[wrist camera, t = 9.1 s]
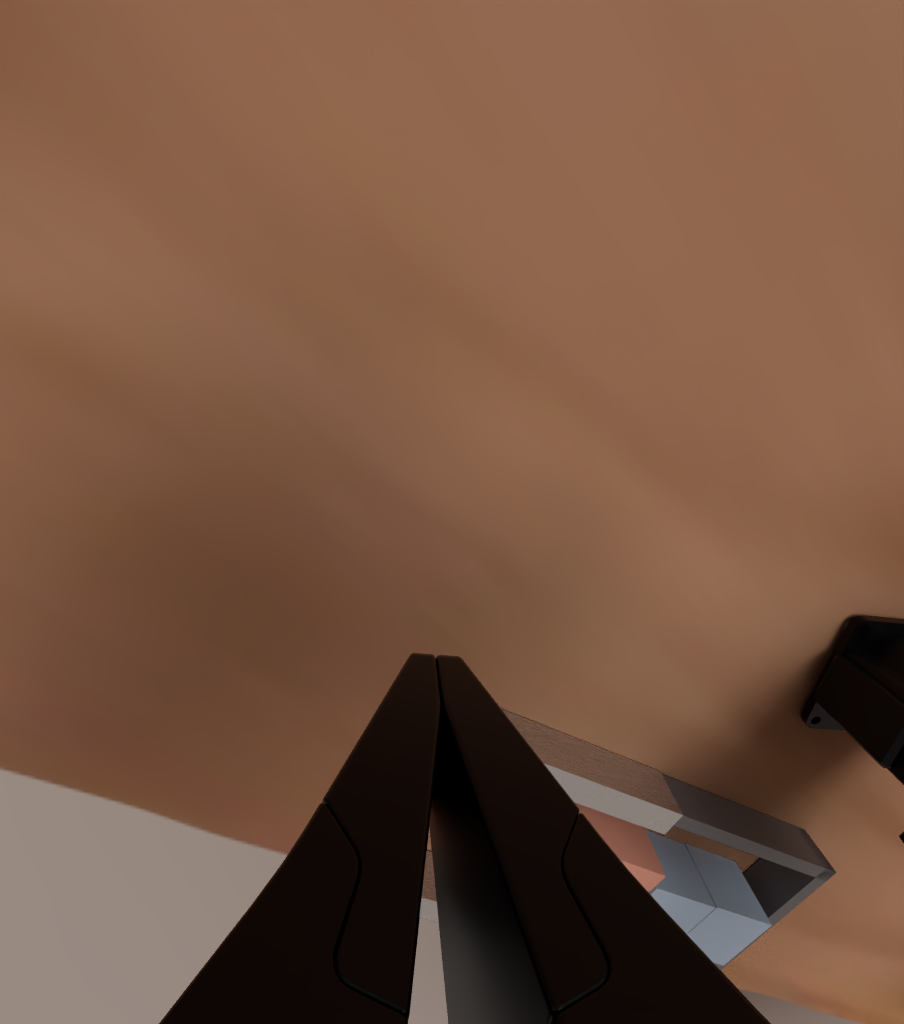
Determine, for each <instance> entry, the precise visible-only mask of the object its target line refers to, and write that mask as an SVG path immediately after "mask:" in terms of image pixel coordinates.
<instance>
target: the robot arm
mask: <svg viewBox="0 0 904 1024" xmlns="http://www.w3.org/2000/svg"><path fill="white" fill-rule="evenodd" d="M801 720H802V721H803V722H804V723H805V724H806V725H807V726H808V727H810V728H820V729H836V730H845V731H846V732H847V733H848V734H849V735H850V736H851V737H852V738H853V739H854V740H855V741H856V742H857V743H858V744H859V745H860V746H861V747H862V748H863V749H864V750H865V751H866V752H867V753H868V754H869V755H870V756H871V757H872V758H873V759H874V760H875V761H876V762H877V763H878V764H879V765H880V766H882V767H883V768H887V769H888V770H889V771H890V772H891V773H892V774H893V775H894V776H895V777H896V778H897V779H898V780H899V781H900V782H901V783H902V784H903V785H904V619H894V618H883V617H872V616H857V617H854V618H853V619H851V620H850V621H849V623H848V624H847V626H846V628H845V630H844V632H843V634H842V636H841V638H840V640H839V642H838V644H837V646H836V648H835V650H834V652H833V654H832V655H831V657H830V659H829V661H828V663H827V665H826V667H825V669H824V671H823V673H822V675H821V677H820V679H819V681H818V683H817V685H816V687H815V688H814V690H813V692H812V694H811V696H810V698H809V700H808V702H807V704H806V706H805V708H804V710H803V712H802V714H801ZM429 827H430V837H431V847H432V858H433V868H434V878H435V889H436V899H437V909H438V920H439V930H440V939H441V950H442V961H443V971H444V982H445V992H446V1003H447V1013H448V1023H449V1024H771V1023H770V1022H769V1021H768V1020H767V1019H766V1018H765V1017H764V1016H763V1015H762V1014H761V1013H760V1012H759V1011H758V1010H757V1009H756V1008H755V1007H754V1006H753V1005H752V1004H751V1003H750V1002H749V1000H747V998H746V997H745V996H744V995H743V994H742V993H741V992H740V991H739V990H738V989H737V988H736V986H735V985H734V984H733V983H732V982H731V981H730V980H729V979H728V978H727V977H726V976H725V975H724V974H723V973H722V971H721V970H720V969H719V968H718V967H717V966H716V965H715V964H714V963H713V962H712V961H711V960H710V959H709V957H708V956H707V955H706V954H705V953H704V952H703V951H702V950H701V949H700V948H699V947H698V946H697V945H696V944H695V942H694V941H693V940H692V939H691V938H690V937H689V936H688V935H687V934H686V933H685V932H684V931H683V930H682V928H681V927H680V926H679V925H678V924H677V923H676V922H675V921H674V920H673V919H672V918H671V917H670V916H669V915H668V913H667V912H666V911H665V910H664V909H663V908H662V907H661V906H660V905H659V904H658V902H657V901H656V900H655V899H654V898H653V897H652V896H651V895H650V893H649V892H648V891H647V890H646V889H645V888H644V887H643V886H642V885H641V883H640V882H639V881H638V880H637V879H636V878H635V877H634V876H633V874H632V873H631V872H630V871H629V870H628V869H627V868H626V866H625V865H624V864H623V863H622V861H621V860H620V859H619V858H618V857H617V855H616V854H615V853H614V852H613V850H612V849H611V848H610V847H609V846H608V844H607V843H606V842H605V841H604V840H603V838H602V837H601V836H600V835H599V833H598V832H597V831H596V829H595V828H594V827H593V826H592V824H591V823H590V822H589V821H588V819H587V818H586V817H585V815H584V814H583V813H579V808H578V807H577V805H576V804H575V803H574V802H573V800H572V799H571V798H570V797H569V795H568V794H567V793H566V791H565V790H564V789H563V788H562V786H561V785H560V784H559V782H558V781H557V780H556V779H555V777H554V776H553V775H552V773H551V772H550V771H549V770H548V768H547V767H546V766H545V764H544V763H543V762H542V761H541V759H540V758H539V757H538V756H537V754H536V753H535V752H534V750H533V749H532V748H531V747H530V745H529V744H528V743H527V741H526V740H525V739H524V738H523V736H522V735H521V734H520V732H519V731H518V730H517V729H516V727H515V726H514V725H513V723H512V722H511V721H510V720H509V718H508V717H507V716H506V714H505V713H504V712H503V711H502V709H501V708H500V707H499V706H498V704H497V703H496V702H495V700H494V699H493V698H492V697H491V695H490V694H489V693H488V691H487V690H486V689H485V688H484V686H483V685H482V684H481V682H480V681H479V680H478V679H477V677H476V676H475V675H474V673H473V672H472V671H471V670H470V668H469V667H468V666H467V665H466V663H465V662H464V661H463V659H462V658H460V657H458V656H447V655H438V656H437V657H436V658H435V656H434V655H432V654H420V653H413V654H411V655H410V656H409V658H408V659H407V661H406V663H405V664H404V666H403V667H402V669H401V671H400V672H399V674H398V676H397V677H396V679H395V681H394V682H393V684H392V686H391V687H390V689H389V691H388V692H387V694H386V696H385V697H384V699H383V701H382V702H381V704H380V706H379V707H378V709H377V711H376V712H375V714H374V716H373V717H372V719H371V721H370V722H369V724H368V726H367V727H366V729H365V730H364V732H363V734H362V735H361V737H360V739H359V740H358V742H357V744H356V745H355V747H354V749H353V750H352V752H351V754H350V755H349V757H348V759H347V760H346V762H345V764H344V765H343V767H342V769H341V770H340V772H339V774H338V775H337V777H336V779H335V780H334V782H333V784H332V785H331V787H330V788H329V790H328V792H327V793H326V795H325V797H324V798H323V802H322V803H321V804H320V805H319V806H318V808H317V809H316V811H315V813H314V814H313V816H312V818H311V819H310V821H309V823H308V824H307V826H306V828H305V829H304V831H303V832H302V834H301V835H300V837H299V838H298V840H297V841H296V843H295V845H294V846H293V848H292V849H291V851H290V852H289V854H288V855H287V857H286V859H285V860H284V861H283V863H282V864H281V866H280V867H279V868H278V870H277V871H276V873H275V874H274V875H273V877H272V878H271V879H270V881H269V882H268V883H267V885H266V886H265V887H264V889H263V890H262V892H261V893H260V894H259V896H258V897H257V898H256V900H255V901H254V902H253V904H252V905H251V907H250V908H249V909H248V910H247V912H246V913H245V915H243V917H242V918H241V919H240V921H239V922H238V923H237V924H236V926H235V927H234V928H233V930H232V931H231V932H230V933H229V935H228V936H227V937H226V938H225V940H224V941H223V942H222V944H221V945H220V946H219V948H218V949H217V950H216V951H215V953H214V954H213V955H212V956H211V958H210V959H209V960H208V962H207V963H206V964H205V965H204V967H203V968H202V969H201V971H200V972H199V973H198V974H197V976H196V977H195V978H194V980H193V981H192V982H191V983H190V985H189V986H188V987H187V989H186V990H185V991H184V992H183V994H182V995H181V996H180V998H179V999H178V1000H177V1001H176V1003H175V1004H174V1005H173V1007H172V1008H171V1009H170V1011H169V1012H168V1013H167V1014H166V1016H165V1017H164V1018H163V1019H162V1021H161V1022H160V1023H159V1024H408V1018H409V1013H410V1003H411V994H412V984H413V975H414V965H415V956H416V947H417V937H418V927H419V918H420V909H421V899H422V890H423V880H424V871H425V861H426V852H427V842H428V833H429ZM899 837H900V838H901V840H902V841H903V843H904V832H903V833H902V834H901V835H899Z"/></svg>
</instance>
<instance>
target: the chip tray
mask: <svg viewBox="0 0 904 1024" xmlns="http://www.w3.org/2000/svg"><path fill="white" fill-rule="evenodd" d="M662 775H663V777H664V779H665V781H666V783H667V785H668V787H669V789H670V791H671V793H672V795H673V796H674V798H675V800H676V802H677V804H678V806H679V808H680V810H681V812H682V814H683V816H682V817H681V818H680V819H679V820H678V821H677V822H676V823H675V824H674V825H673V826H675V827H678V828H680V829H683V830H686V831H689V832H691V833H694V834H697V835H700V836H702V837H705V838H708V839H711V840H713V841H716V842H719V843H722V844H724V845H727V846H730V847H733V848H735V849H738V850H741V851H744V852H746V853H749V854H752V855H755V856H758V857H760V859H759V860H758V861H757V862H756V863H754V864H753V865H752V866H751V867H750V868H749V869H748V870H747V871H746V872H745V873H744V874H743V876H744V877H745V879H746V881H747V883H748V884H749V886H750V888H751V890H752V891H753V893H754V895H755V896H756V898H757V900H758V902H759V903H760V905H761V907H762V909H763V910H764V912H765V914H766V916H767V917H768V919H769V921H770V923H771V924H772V926H773V925H775V924H776V923H777V922H778V921H779V920H781V919H782V918H783V917H784V916H785V915H786V914H788V913H789V912H790V911H791V910H792V909H794V908H795V907H796V906H797V905H798V904H800V903H801V902H802V901H803V900H804V899H805V898H807V897H808V896H809V895H810V894H811V893H813V892H814V891H815V890H816V889H817V888H819V887H820V886H821V885H822V884H823V883H825V882H826V881H827V880H828V879H829V878H830V877H832V876H833V875H834V874H835V873H836V871H835V870H834V869H833V867H832V866H831V865H830V863H829V862H828V861H827V859H826V858H825V857H824V855H823V854H822V852H821V851H820V850H819V848H818V847H817V846H816V844H815V843H814V842H813V840H812V839H811V838H810V836H809V835H808V834H807V832H806V831H805V830H803V829H801V828H798V827H796V826H793V825H791V824H788V823H786V822H783V821H781V820H778V819H775V818H773V817H770V816H768V815H765V814H763V813H760V812H758V811H755V810H753V809H750V808H747V807H745V806H742V805H740V804H737V803H735V802H732V801H730V800H727V799H725V798H722V797H719V796H717V795H714V794H712V793H709V792H707V791H704V790H702V789H699V788H697V787H694V786H692V785H689V784H686V783H684V782H681V781H679V780H676V779H674V778H671V777H669V776H666V775H664V774H662ZM772 926H771V927H772ZM771 927H770V928H771ZM770 928H768V929H767V930H769V929H770ZM767 930H766V931H767ZM766 931H765V932H766ZM765 932H764V933H765ZM764 933H762V934H761V935H760V936H762V935H763V934H764ZM760 936H759V937H760ZM759 937H758V938H759ZM758 938H756V939H755V940H754V941H756V940H757V939H758ZM754 941H753V942H754ZM753 942H751V943H750V944H749V945H748V946H750V945H751V944H752V943H753ZM748 946H747V947H748ZM747 947H745V948H744V949H743V950H742V951H741V952H743V951H744V950H745V949H746V948H747ZM741 952H739V953H738V954H737V955H736V956H735V957H737V956H738V955H739V954H740V953H741ZM735 957H733V958H732V959H731V960H730V961H729V962H731V961H732V960H733V959H734V958H735ZM729 962H727V963H726V964H725V965H724V966H723V965H719V964H716V963H714V964H715V965H716V966H717V967H718V968H719V969H720V970H721V969H722V968H724V967H725V966H726V965H727V964H728V963H729Z"/></svg>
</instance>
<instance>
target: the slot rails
mask: <svg viewBox="0 0 904 1024" xmlns="http://www.w3.org/2000/svg"><path fill="white" fill-rule="evenodd" d="M502 711H503V712H504V713H505V714H506V716H507V717H508V718H509V720H510V721H511V722H512V723H513V725H514V726H515V727H516V729H517V730H518V731H519V732H520V734H521V735H522V736H523V738H524V739H525V740H526V741H527V743H528V744H529V745H530V747H531V748H532V749H533V750H534V752H535V753H536V754H537V756H538V757H539V758H540V759H541V761H542V762H543V763H544V764H545V766H546V767H547V768H548V770H549V771H550V772H551V773H552V775H553V776H554V777H555V779H556V780H557V781H558V782H559V784H560V785H561V786H562V788H563V789H564V790H565V791H566V793H567V794H568V795H569V797H570V798H571V799H572V800H573V802H575V803H577V804H580V805H583V806H586V807H589V808H591V809H594V810H597V811H600V812H603V813H605V814H608V815H611V816H614V817H617V818H619V819H622V820H625V821H628V822H631V823H633V824H636V825H639V826H642V827H645V828H648V829H650V830H653V831H656V832H659V833H662V834H664V835H665V834H666V833H667V831H668V830H669V829H670V828H671V827H672V826H673V825H674V824H675V823H676V822H677V821H678V820H679V819H680V818H681V817H682V816H683V814H682V812H681V810H680V808H679V806H678V804H677V802H676V800H675V798H674V796H673V795H672V793H671V791H670V789H669V787H668V785H667V783H666V781H665V779H664V777H663V775H662V774H661V772H660V771H658V770H655V769H653V768H650V767H648V766H645V765H643V764H640V763H638V762H635V761H632V760H630V759H627V758H625V757H622V756H620V755H617V754H615V753H612V752H610V751H607V750H605V749H602V748H599V747H597V746H594V745H592V744H589V743H587V742H584V741H582V740H579V739H577V738H574V737H572V736H569V735H566V734H564V733H561V732H559V731H556V730H554V729H551V728H549V727H546V726H544V725H541V724H539V723H536V722H534V721H531V720H528V719H526V718H523V717H521V716H518V715H516V714H513V713H511V712H508V711H506V710H503V709H502ZM420 918H423V919H426V920H430V921H434V922H438V923H439V920H438V909H437V899H436V889H435V878H434V868H433V858H432V852H430V851H427V852H426V861H425V871H424V880H423V890H422V899H421V909H420Z"/></svg>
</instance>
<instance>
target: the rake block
mask: <svg viewBox="0 0 904 1024" xmlns="http://www.w3.org/2000/svg"><path fill="white" fill-rule="evenodd" d="M574 803H575V802H574ZM575 804H576V805H577V807H578V808H579V813H583V814H584V815H585V817H586V818H587V819H588V821H589V822H590V823H591V824H592V826H593V827H594V828H595V829H596V831H597V832H598V833H599V835H600V836H601V837H602V838H603V840H604V841H605V842H606V843H607V844H608V846H609V847H610V848H611V849H612V850H613V852H614V853H615V854H616V855H617V857H618V858H619V859H620V860H621V861H622V863H623V864H624V865H625V866H626V868H627V869H628V870H629V871H630V872H631V873H632V874H633V876H634V877H635V878H636V879H637V880H638V881H639V882H640V883H641V885H642V886H643V887H644V888H645V889H646V890H647V891H648V892H650V891H651V890H652V889H653V888H654V887H655V886H656V885H657V884H658V883H659V882H661V881H662V880H663V879H664V878H665V877H666V875H665V873H664V870H663V868H662V866H661V864H660V861H659V859H658V857H657V854H656V852H655V850H654V847H653V845H652V843H651V841H650V838H649V836H648V834H647V831H646V829H645V827H642V826H639V825H636V824H633V823H631V822H628V821H625V820H622V819H619V818H617V817H614V816H611V815H608V814H605V813H603V812H600V811H597V810H594V809H591V808H589V807H586V806H583V805H580V804H577V803H575Z"/></svg>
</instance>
